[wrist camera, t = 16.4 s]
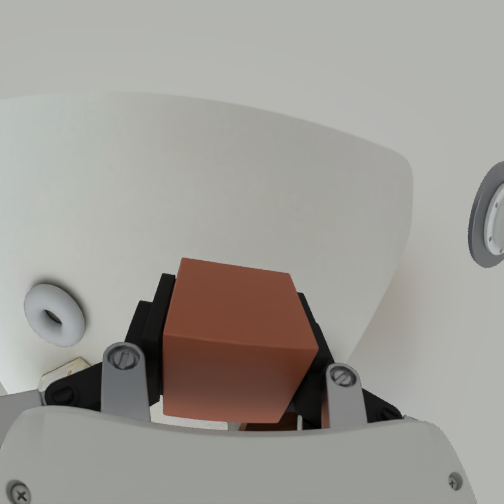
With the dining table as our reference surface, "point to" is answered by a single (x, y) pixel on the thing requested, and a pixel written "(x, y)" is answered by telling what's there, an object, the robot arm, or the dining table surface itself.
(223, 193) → the dining table surface
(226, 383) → the block
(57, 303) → the donut
